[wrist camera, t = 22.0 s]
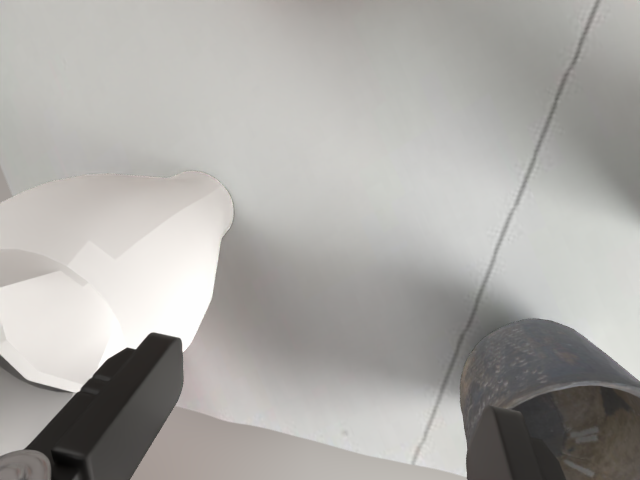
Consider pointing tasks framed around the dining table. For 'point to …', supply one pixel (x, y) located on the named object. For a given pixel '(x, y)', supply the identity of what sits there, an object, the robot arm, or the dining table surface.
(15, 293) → the vase
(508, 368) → the grey planter pot
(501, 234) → the dining table surface
